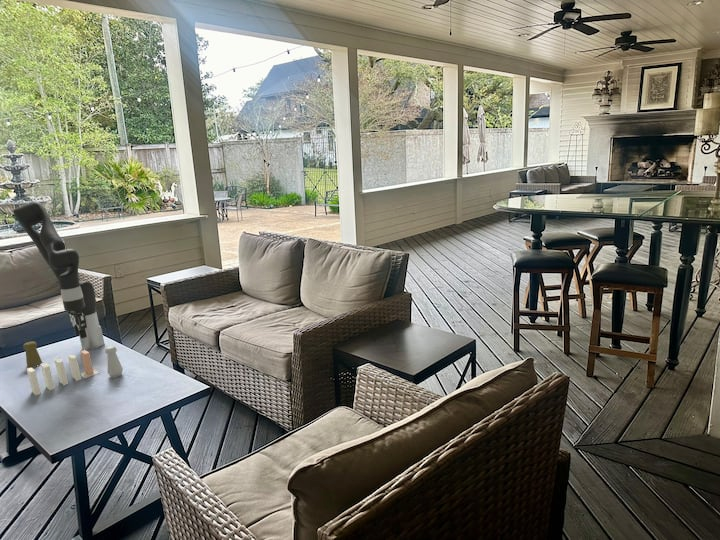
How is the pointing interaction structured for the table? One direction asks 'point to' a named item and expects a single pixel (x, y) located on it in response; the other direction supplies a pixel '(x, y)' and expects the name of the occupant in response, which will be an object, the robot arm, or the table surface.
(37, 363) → the cork
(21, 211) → the robot arm
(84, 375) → the block
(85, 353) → the domino
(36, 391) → the domino
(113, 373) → the salt shaker
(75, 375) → the domino
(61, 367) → the domino
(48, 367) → the domino
